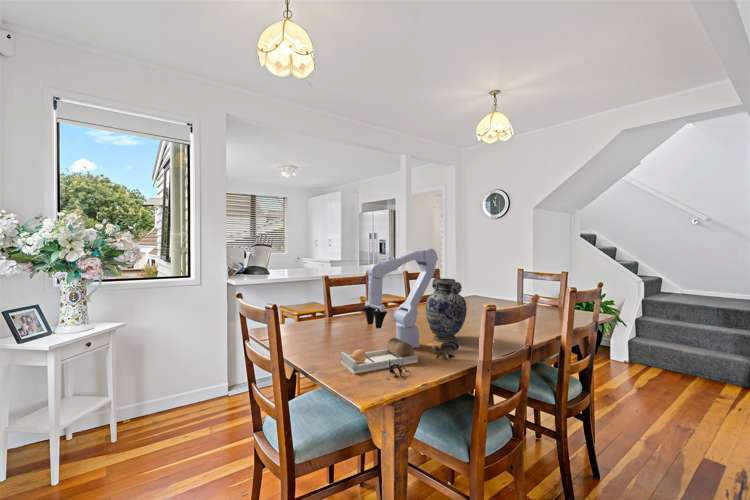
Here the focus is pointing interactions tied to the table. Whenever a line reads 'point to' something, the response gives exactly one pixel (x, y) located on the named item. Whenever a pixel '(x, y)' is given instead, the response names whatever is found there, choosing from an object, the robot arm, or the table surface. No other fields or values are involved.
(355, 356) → the ball
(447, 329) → the decorative vase
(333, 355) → the table surface
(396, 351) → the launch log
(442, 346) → the withered leafy plant
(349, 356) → the lane
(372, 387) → the table surface
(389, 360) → the creature
